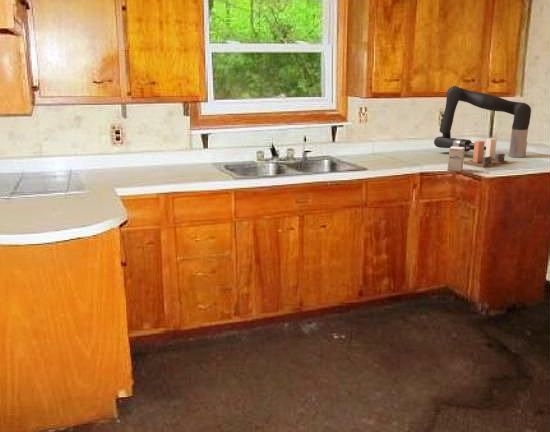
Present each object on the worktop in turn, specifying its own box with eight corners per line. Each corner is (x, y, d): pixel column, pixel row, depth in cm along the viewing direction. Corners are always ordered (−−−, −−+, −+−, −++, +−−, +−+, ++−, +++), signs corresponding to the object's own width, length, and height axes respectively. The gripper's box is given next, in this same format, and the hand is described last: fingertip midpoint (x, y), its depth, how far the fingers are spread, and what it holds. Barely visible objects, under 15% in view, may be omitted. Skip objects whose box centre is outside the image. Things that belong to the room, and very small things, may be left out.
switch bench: (488, 160, 326) (489, 151, 324) (507, 163, 315) (508, 154, 313) (463, 163, 315) (464, 154, 313) (483, 167, 304) (483, 157, 302)
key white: (490, 158, 322) (492, 138, 319) (494, 158, 320) (496, 138, 317) (484, 158, 320) (486, 138, 317) (489, 159, 317) (491, 139, 314)
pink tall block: (478, 161, 313) (480, 140, 310) (482, 161, 311) (484, 141, 308) (472, 161, 311) (474, 141, 308) (477, 162, 308) (479, 142, 305)
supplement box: (447, 170, 297) (448, 147, 293) (449, 168, 303) (451, 146, 300) (460, 171, 294) (462, 148, 290) (463, 169, 300) (465, 146, 296)
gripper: (455, 139, 331) (478, 143, 317) (469, 138, 338) (493, 141, 324) (454, 151, 333) (477, 155, 319) (468, 149, 340) (491, 153, 326)
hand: (485, 148), depth 321 cm, fingers closed
